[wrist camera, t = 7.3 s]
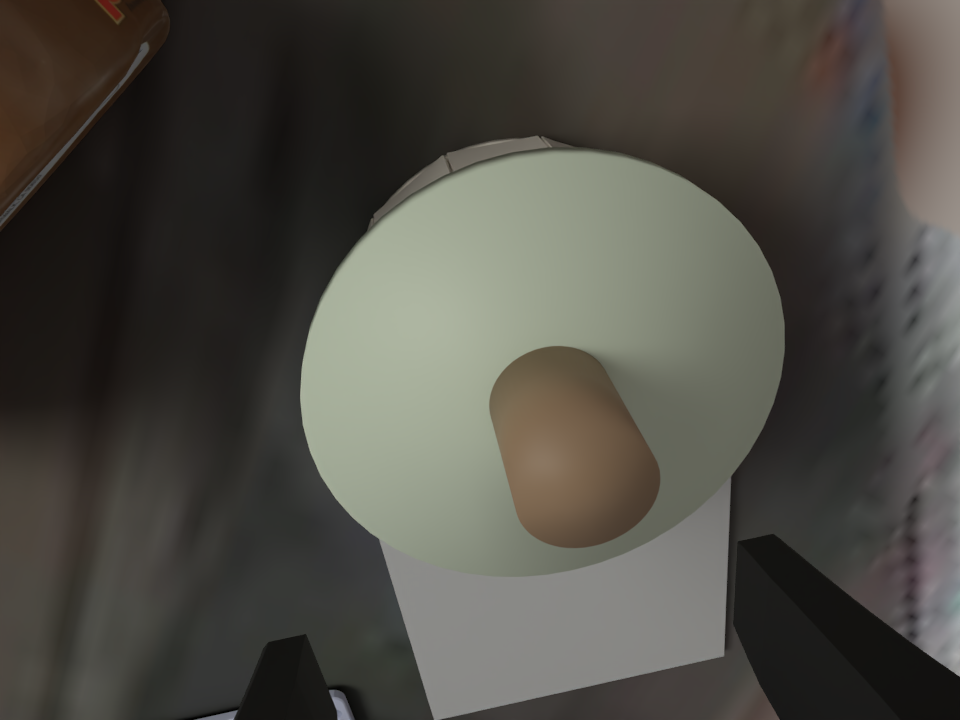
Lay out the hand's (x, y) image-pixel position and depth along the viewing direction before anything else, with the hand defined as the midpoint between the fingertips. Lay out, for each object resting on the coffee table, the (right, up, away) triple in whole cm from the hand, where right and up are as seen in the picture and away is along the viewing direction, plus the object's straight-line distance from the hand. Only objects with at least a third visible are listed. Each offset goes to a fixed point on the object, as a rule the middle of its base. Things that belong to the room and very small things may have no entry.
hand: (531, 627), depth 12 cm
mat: (+2, -3, +14) cm, 15 cm away
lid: (+1, +4, +5) cm, 6 cm away
